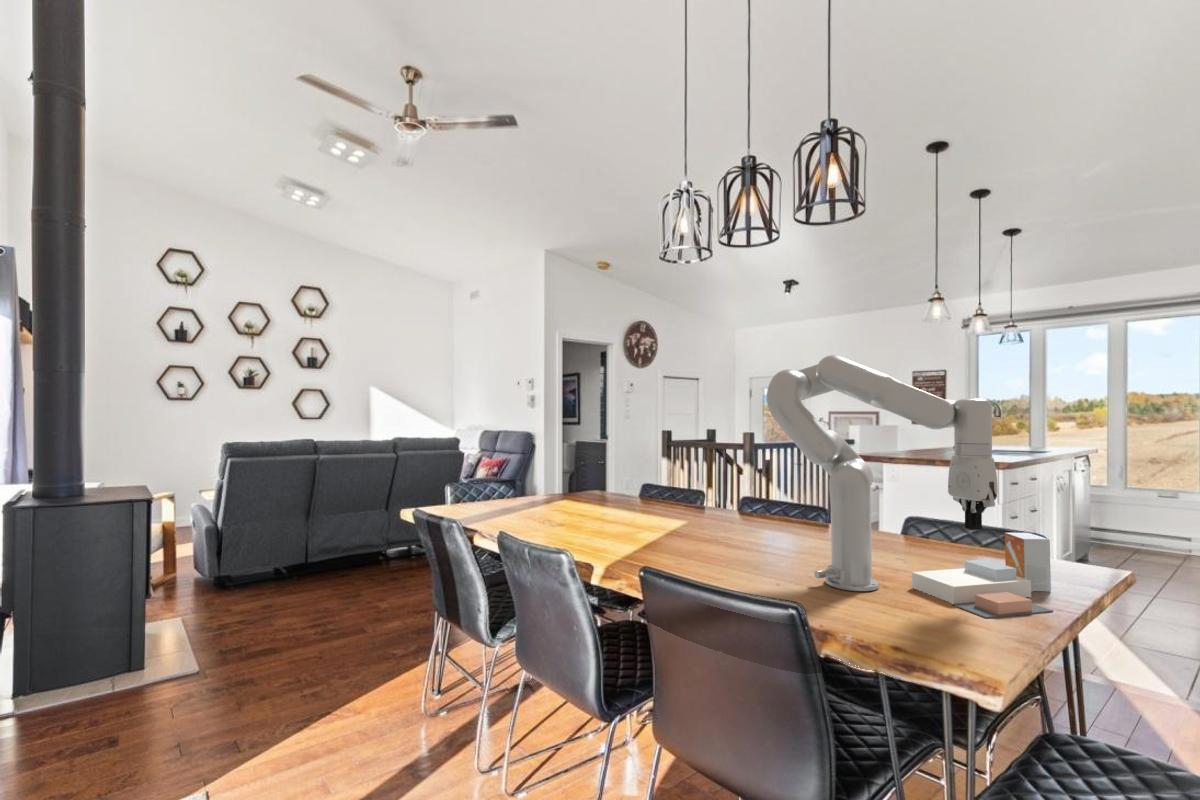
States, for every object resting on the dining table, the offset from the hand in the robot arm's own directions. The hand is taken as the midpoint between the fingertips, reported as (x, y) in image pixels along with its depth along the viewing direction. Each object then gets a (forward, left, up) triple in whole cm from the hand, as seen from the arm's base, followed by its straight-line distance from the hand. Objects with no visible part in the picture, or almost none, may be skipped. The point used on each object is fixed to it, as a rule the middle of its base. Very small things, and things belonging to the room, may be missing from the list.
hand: (973, 528), depth 139 cm
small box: (+22, +6, -17) cm, 29 cm away
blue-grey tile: (+10, +5, -13) cm, 17 cm away
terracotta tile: (+1, -7, -14) cm, 16 cm away
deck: (+4, +5, -17) cm, 18 cm away
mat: (+1, -6, -17) cm, 18 cm away
